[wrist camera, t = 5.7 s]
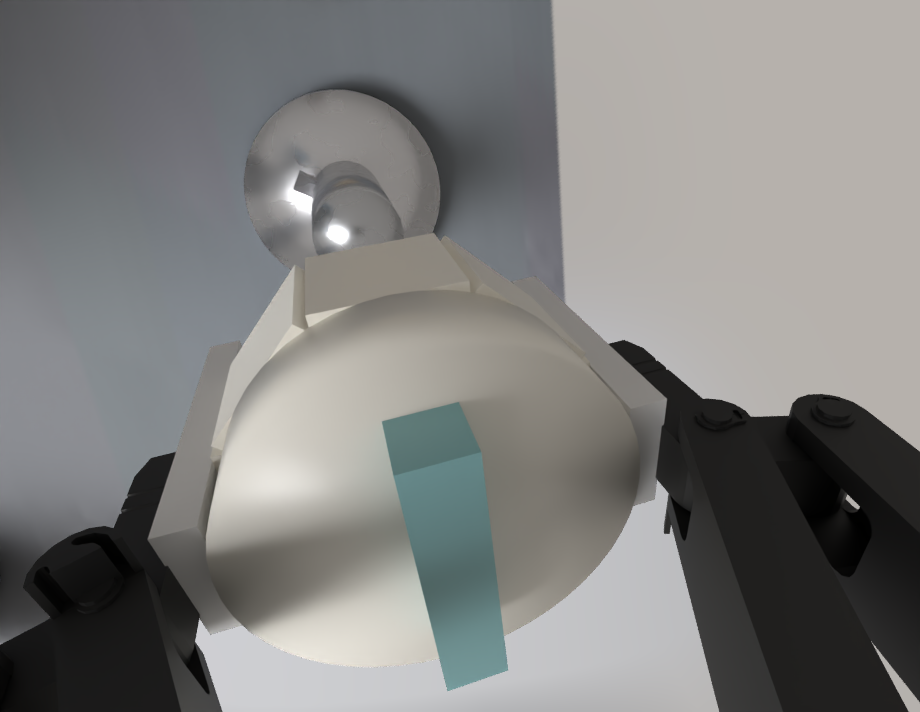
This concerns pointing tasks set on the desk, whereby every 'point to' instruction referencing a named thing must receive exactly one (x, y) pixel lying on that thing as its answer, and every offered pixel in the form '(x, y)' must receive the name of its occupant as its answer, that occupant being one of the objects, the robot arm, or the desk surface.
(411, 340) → the cap
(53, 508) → the desk surface
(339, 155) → the bayonet post
